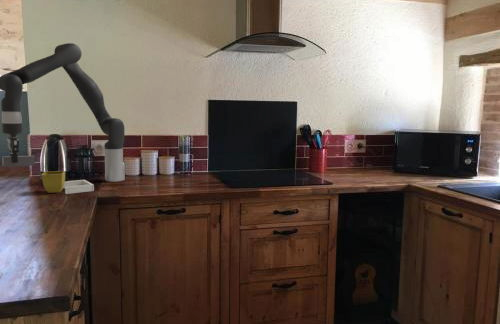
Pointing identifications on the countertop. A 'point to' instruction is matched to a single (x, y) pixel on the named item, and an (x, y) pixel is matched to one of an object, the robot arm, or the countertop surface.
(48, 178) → the flower pot
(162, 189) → the countertop surface
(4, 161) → the tall gray bar
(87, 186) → the white shallow tray
